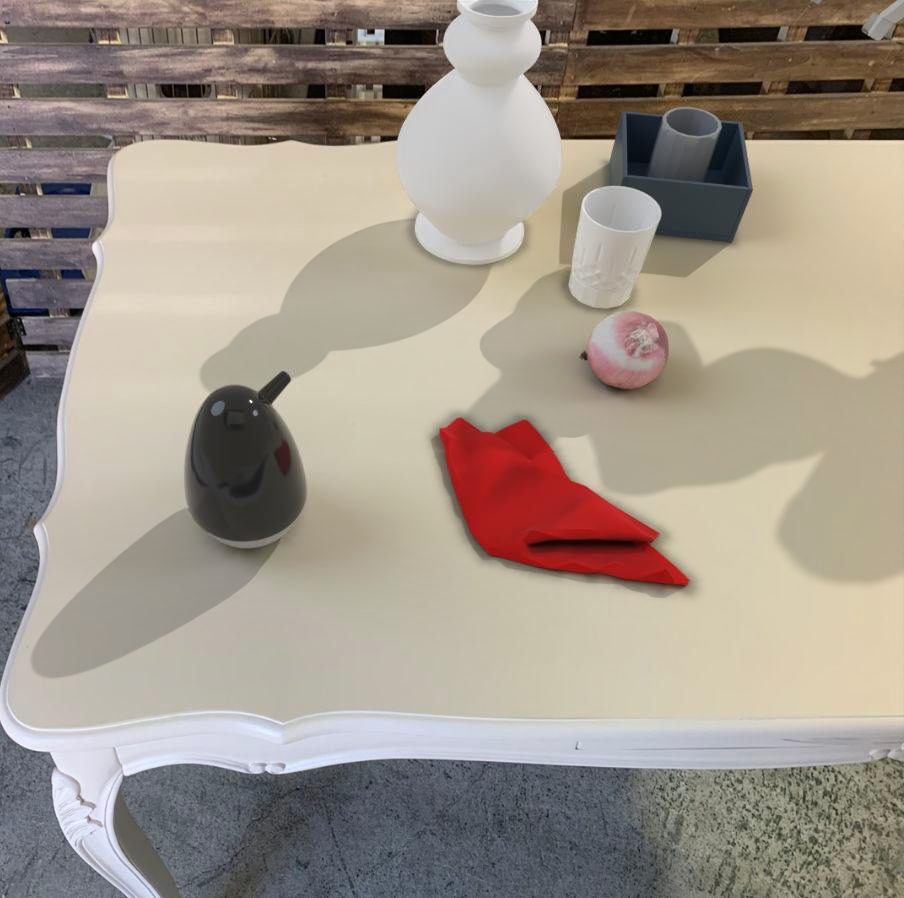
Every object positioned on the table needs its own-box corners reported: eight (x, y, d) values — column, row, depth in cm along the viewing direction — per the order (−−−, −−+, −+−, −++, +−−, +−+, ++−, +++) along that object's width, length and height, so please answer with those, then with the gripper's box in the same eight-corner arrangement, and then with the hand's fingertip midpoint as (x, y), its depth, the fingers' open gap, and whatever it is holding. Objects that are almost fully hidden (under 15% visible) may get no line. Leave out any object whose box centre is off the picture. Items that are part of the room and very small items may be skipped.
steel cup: (694, 182, 109) (719, 109, 102) (698, 213, 105) (723, 140, 98) (641, 176, 109) (661, 104, 102) (642, 207, 106) (664, 134, 98)
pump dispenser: (334, 522, 79) (331, 398, 66) (239, 587, 75) (217, 468, 62) (263, 456, 83) (247, 328, 71) (169, 514, 79) (136, 389, 67)
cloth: (390, 455, 83) (390, 439, 82) (501, 394, 88) (504, 377, 86) (586, 657, 71) (593, 643, 69) (704, 573, 76) (712, 558, 74)
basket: (723, 174, 111) (742, 122, 106) (731, 243, 103) (753, 189, 98) (608, 163, 112) (622, 110, 107) (608, 230, 104) (622, 176, 99)
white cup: (592, 257, 101) (613, 176, 93) (650, 290, 98) (677, 209, 90) (548, 288, 98) (566, 207, 90) (607, 323, 95) (630, 242, 87)
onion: (595, 407, 87) (612, 351, 82) (567, 354, 92) (581, 297, 86) (671, 394, 89) (693, 338, 83) (639, 342, 93) (659, 286, 87)
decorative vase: (534, 185, 109) (575, -43, 89) (557, 279, 99) (611, 44, 79) (388, 187, 109) (396, -43, 89) (396, 281, 98) (408, 45, 78)
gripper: (1051, -89, 78) (927, 70, 87) (891, -155, 90) (796, -9, 99) (1017, -119, 75) (890, 50, 83) (855, -183, 87) (760, -30, 95)
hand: (838, 17), depth 91 cm, fingers open, 8 cm apart
